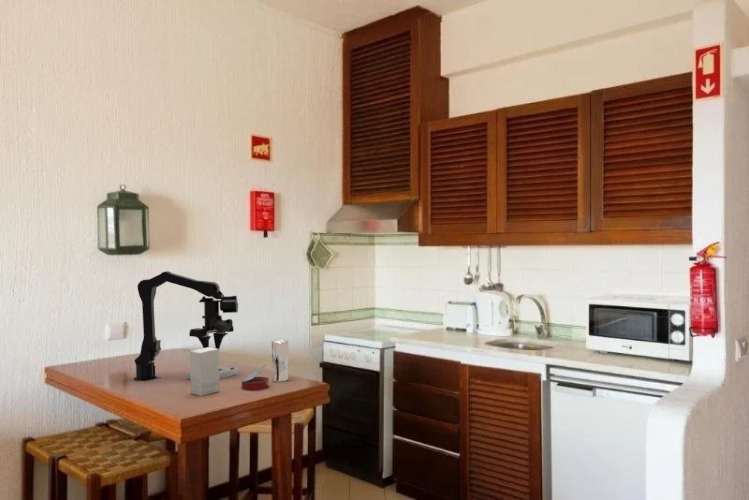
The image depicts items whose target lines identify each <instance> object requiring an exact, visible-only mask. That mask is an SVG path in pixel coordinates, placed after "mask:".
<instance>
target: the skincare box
mask: <svg viewBox="0 0 749 500" xmlns="http://www.w3.org/2000/svg"><path fill="white" fill-rule="evenodd" d="M219 351H220V348H219V349H216V348H215V347H211V346H210V347H207V348H198V349H197V348H196V349H193V350H189V360H190V366H189V367H190V369H189V372H191V379H190V394H191V395H196V396H199V397H202V396H206V395H210V394H214V393H217V392H218V393H219V392H220V379H219V366H220V364H219V363H220V361H219V359H220V358H219Z"/></svg>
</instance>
